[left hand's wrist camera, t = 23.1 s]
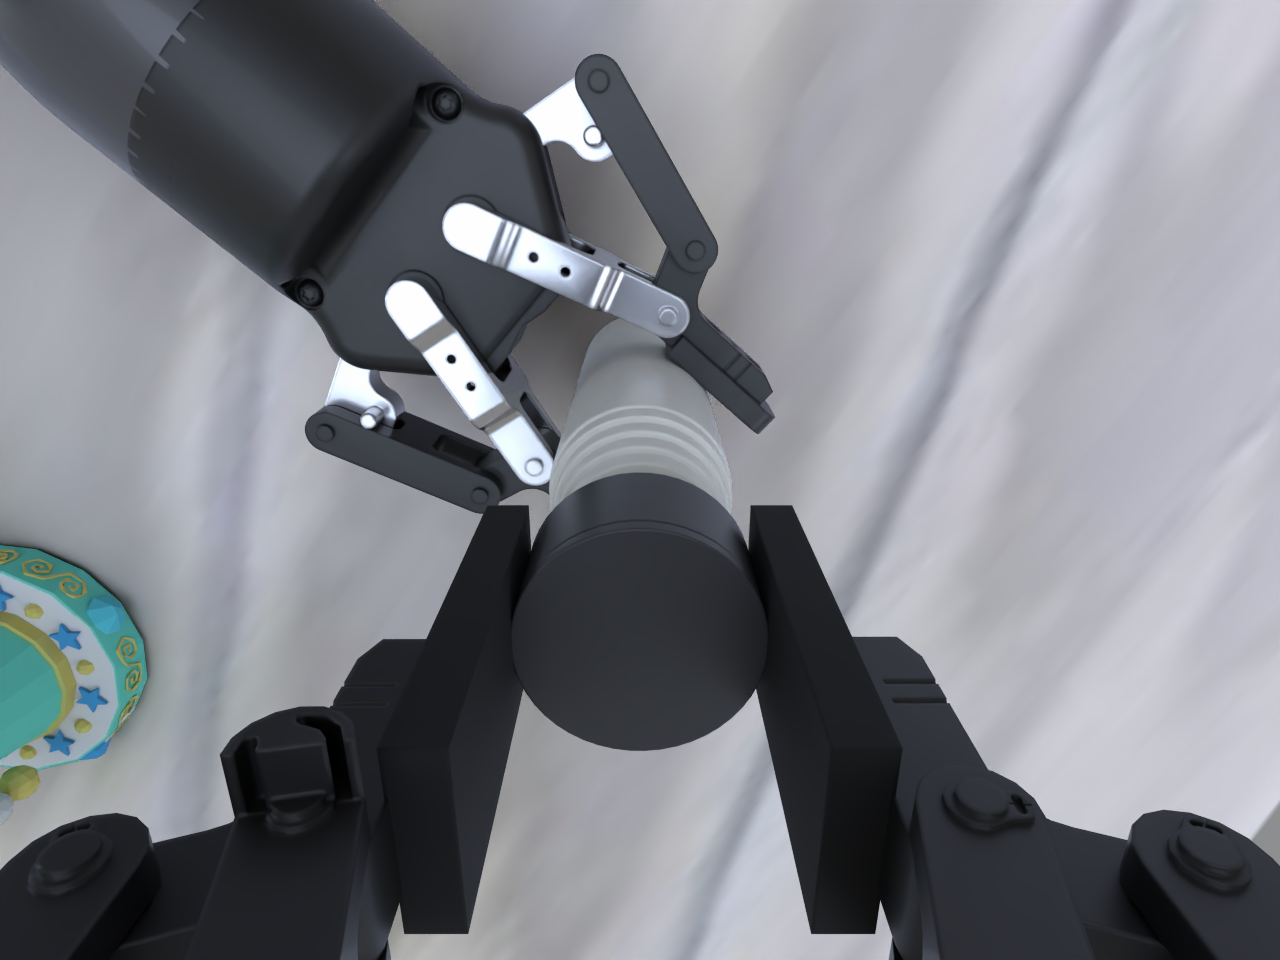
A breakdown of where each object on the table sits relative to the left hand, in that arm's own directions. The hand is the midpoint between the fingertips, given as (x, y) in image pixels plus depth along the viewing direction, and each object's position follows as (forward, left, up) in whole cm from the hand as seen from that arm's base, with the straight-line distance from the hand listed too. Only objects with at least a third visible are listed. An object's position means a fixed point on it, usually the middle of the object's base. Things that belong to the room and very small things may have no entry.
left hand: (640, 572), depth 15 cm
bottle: (0, 0, -16) cm, 16 cm away
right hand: (+2, -1, -10) cm, 10 cm away
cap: (0, 0, +2) cm, 2 cm away
